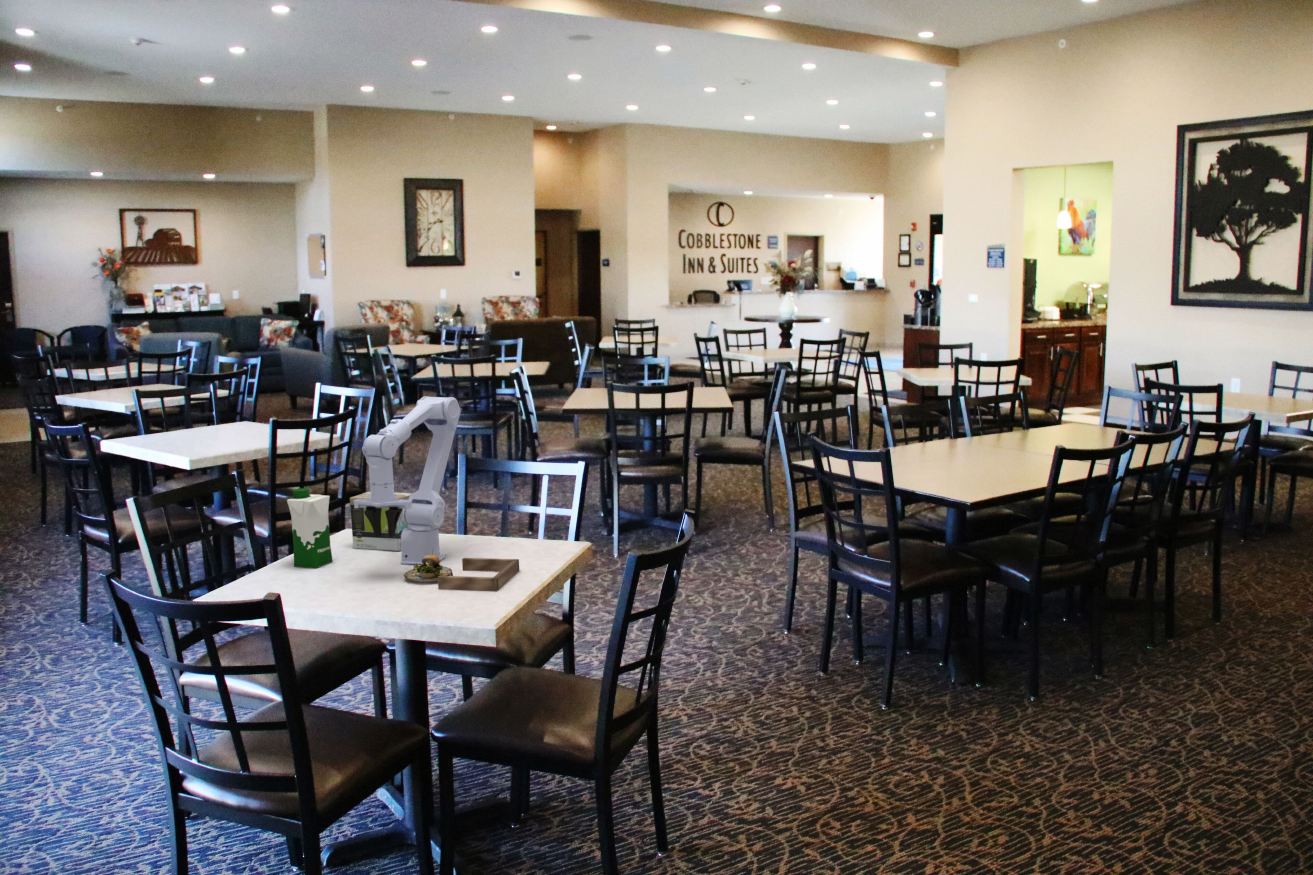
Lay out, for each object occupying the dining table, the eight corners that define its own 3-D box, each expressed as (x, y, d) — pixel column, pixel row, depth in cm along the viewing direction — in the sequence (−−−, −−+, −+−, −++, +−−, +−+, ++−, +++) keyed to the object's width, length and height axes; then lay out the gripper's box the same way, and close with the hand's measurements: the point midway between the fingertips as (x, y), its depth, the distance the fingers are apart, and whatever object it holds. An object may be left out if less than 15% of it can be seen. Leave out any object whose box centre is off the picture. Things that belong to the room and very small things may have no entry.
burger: (395, 580, 257) (393, 551, 256) (434, 569, 266) (432, 541, 265) (423, 589, 250) (422, 559, 248) (462, 577, 258) (461, 548, 257)
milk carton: (309, 558, 279) (304, 485, 275) (338, 560, 276) (333, 487, 273) (288, 567, 270) (282, 492, 267) (317, 569, 267) (312, 494, 264)
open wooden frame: (438, 589, 248) (437, 576, 248) (464, 568, 265) (463, 557, 265) (497, 591, 246) (496, 578, 245) (519, 570, 263) (518, 559, 262)
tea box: (418, 543, 293) (415, 492, 290) (398, 552, 283) (395, 499, 281) (372, 540, 298) (369, 489, 295) (351, 548, 288) (348, 496, 286)
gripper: (347, 485, 253) (350, 539, 256) (402, 486, 251) (405, 540, 253) (360, 480, 260) (363, 532, 262) (414, 480, 258) (417, 533, 260)
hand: (385, 536), depth 258 cm, fingers open, 3 cm apart
